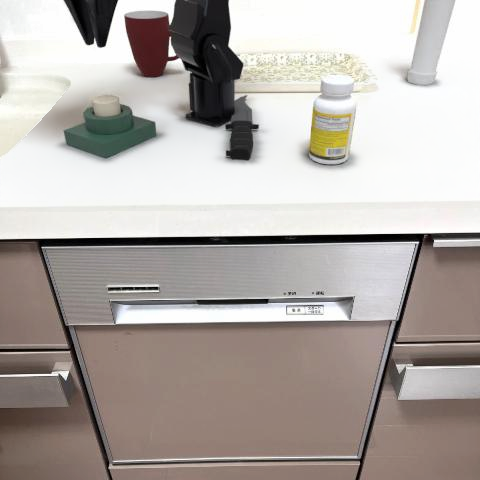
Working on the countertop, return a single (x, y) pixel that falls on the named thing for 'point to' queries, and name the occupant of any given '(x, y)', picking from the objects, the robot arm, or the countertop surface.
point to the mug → (149, 40)
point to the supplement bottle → (333, 120)
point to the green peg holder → (109, 132)
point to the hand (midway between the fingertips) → (95, 45)
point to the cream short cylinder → (106, 105)
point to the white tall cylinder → (430, 40)
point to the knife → (241, 131)
